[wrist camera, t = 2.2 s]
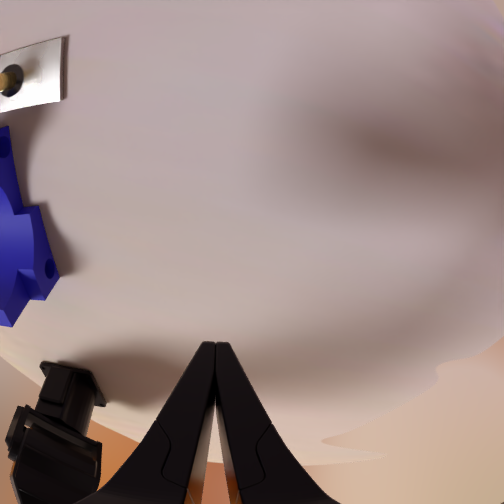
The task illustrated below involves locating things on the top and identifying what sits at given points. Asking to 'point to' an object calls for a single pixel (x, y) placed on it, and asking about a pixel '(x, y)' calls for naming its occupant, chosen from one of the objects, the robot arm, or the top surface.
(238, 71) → the top surface
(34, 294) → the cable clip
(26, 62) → the steel strip
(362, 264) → the top surface
